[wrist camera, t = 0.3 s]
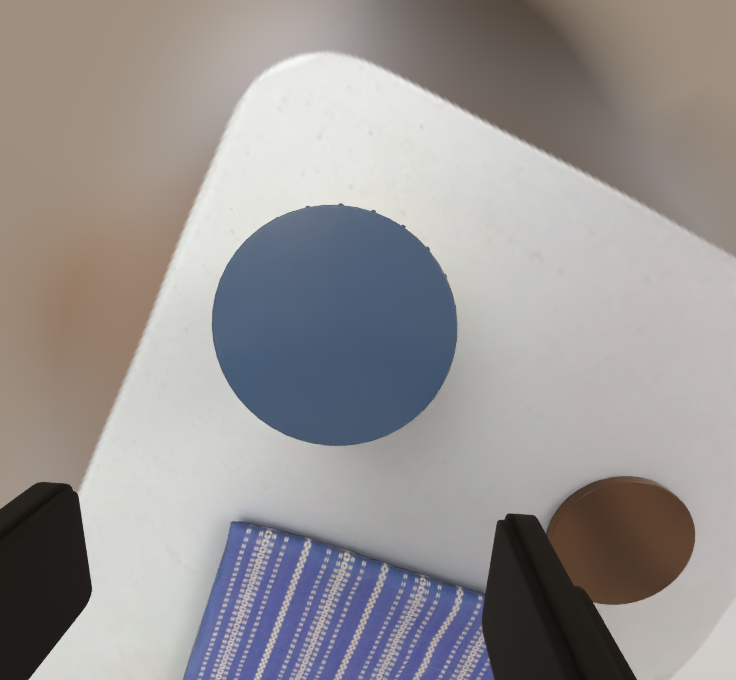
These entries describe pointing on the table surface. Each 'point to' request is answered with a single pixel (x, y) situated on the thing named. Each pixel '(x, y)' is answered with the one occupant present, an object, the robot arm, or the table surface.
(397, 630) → the dish towel
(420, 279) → the lid
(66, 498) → the robot arm
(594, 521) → the coaster
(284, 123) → the table surface
